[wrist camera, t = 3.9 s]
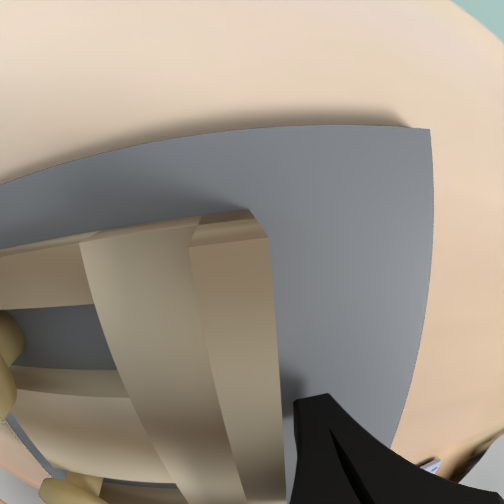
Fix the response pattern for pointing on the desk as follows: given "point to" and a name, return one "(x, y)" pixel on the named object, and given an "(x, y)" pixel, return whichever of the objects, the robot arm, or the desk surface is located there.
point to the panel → (160, 360)
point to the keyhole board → (281, 255)
